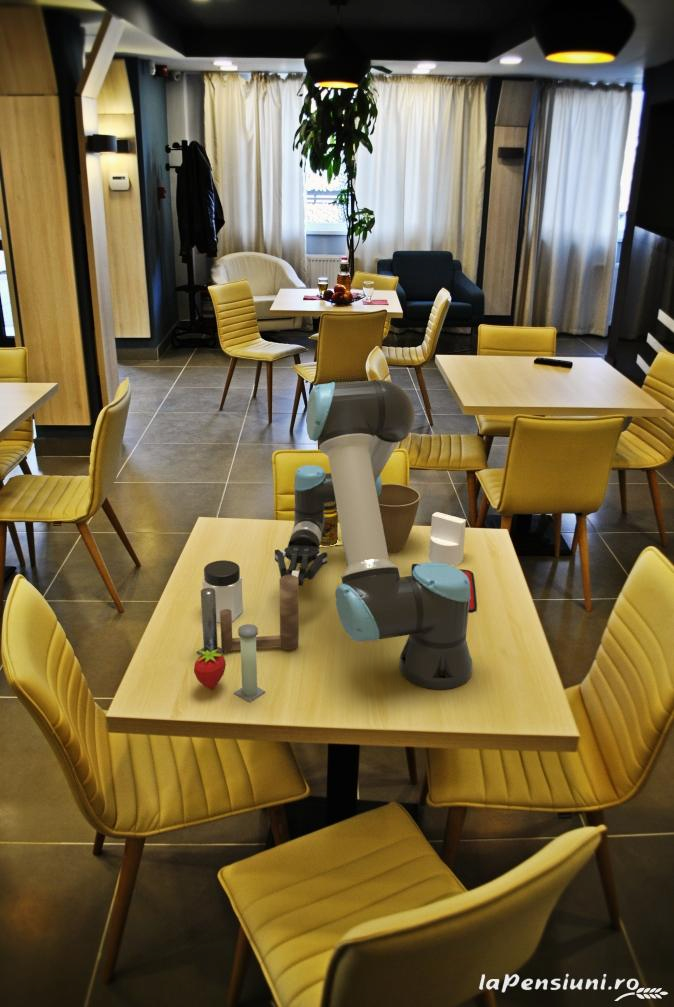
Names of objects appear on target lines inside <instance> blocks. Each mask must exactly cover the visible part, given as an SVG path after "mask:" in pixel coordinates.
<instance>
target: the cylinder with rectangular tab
mask: <svg viewBox="0 0 674 1007" xmlns="http://www.w3.org/2000/svg"><path fill="white" fill-rule="evenodd" d="M466 524H467V519H465V518H461V517H458V516H453V515H450V514H446V513H442V512H439V511H435V512H434V513H433V514H432V515H431V527H430V536H429V537H430V538H429V552H428V559H430V560H431V561H430V560H429V561H430V562H438V563H444V564H448V565H450V566H451V565H456V564H459V563H460V564H462V563H463V561H464V560H463V559H464V548H465V535H466ZM461 562H462V563H461ZM460 564H459V565H460ZM456 566H457V565H456Z"/></svg>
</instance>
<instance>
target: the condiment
mask: <svg viewBox="0 0 674 1007" xmlns="http://www.w3.org/2000/svg"><path fill="white" fill-rule="evenodd" d="M324 515H325V526H324V528H323V532H322V536H321V542H320V545H322V546H330V545H334V544H336V543H337V540H338V538H339V536H338V531H339V529H338V527H339V525H338V524H339V523H338V522H339V516H338V511H337V505H336V502H332V503H324Z"/></svg>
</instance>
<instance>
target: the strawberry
mask: <svg viewBox="0 0 674 1007" xmlns="http://www.w3.org/2000/svg"><path fill="white" fill-rule="evenodd" d="M206 646H207V645H206ZM207 647H208V646H207ZM208 648H209V647H208ZM209 649H210V648H209ZM210 650H211V649H210ZM217 650H218V649H217ZM217 650H214V651H212V650H211V652H209V651H208V650H206V652H205V651H199V652H200V653H201V654H203V655H200V656H199V657H198V658H197V659H196V660H195V662H194V669H193V672H194V673H193V674H194V676H195V678H196V680H197V681H198V682H199V683H200V684H201V685H202V686H203V687H205V688H207V689H208V690H209V691H213V690H214V689H216V687H217V685H218V684H219V683H220V682H221V679H222V678H223V676H224V673H225V670H226V664H227V662H226V659H225V656H224V655H223V654H220V653H218V652H216V651H217Z"/></svg>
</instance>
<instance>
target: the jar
mask: <svg viewBox="0 0 674 1007" xmlns="http://www.w3.org/2000/svg"><path fill="white" fill-rule="evenodd" d="M240 571H241V570H240V566H239V564H238V563H236V562H234V561H232V560H225V559H224V560H223V559H222V560H215V561H211V562H209V563H207V564H206V565H205V566H204V568H203V577H204V578H202V589H204V588H213V589H214V590H215V598H216V620H217V623H220V611H221V610H223V609H229V610H231V615H232V622H235V621H236V620H237V618H239V616H241V615H242V613H243V611H244V607H243V578H242V576H241V572H240Z"/></svg>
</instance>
